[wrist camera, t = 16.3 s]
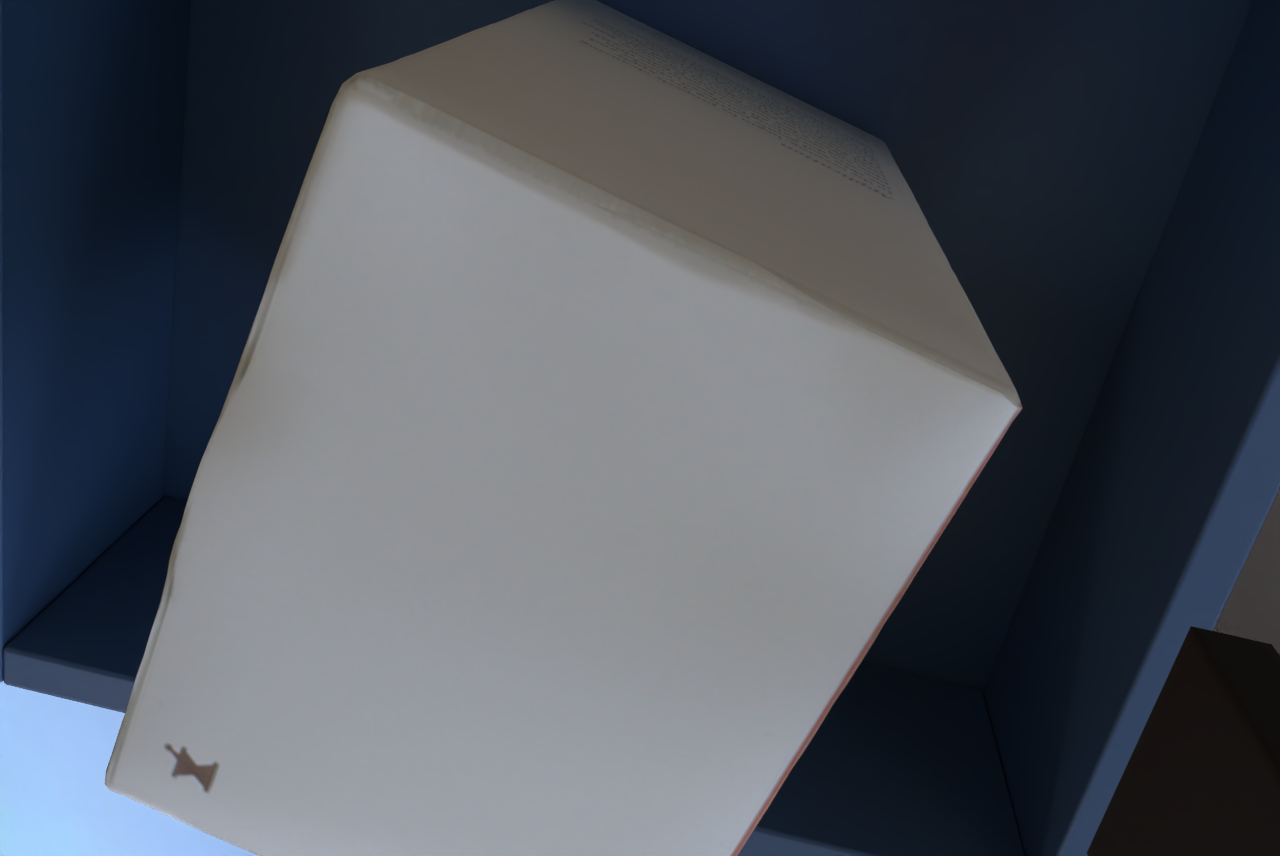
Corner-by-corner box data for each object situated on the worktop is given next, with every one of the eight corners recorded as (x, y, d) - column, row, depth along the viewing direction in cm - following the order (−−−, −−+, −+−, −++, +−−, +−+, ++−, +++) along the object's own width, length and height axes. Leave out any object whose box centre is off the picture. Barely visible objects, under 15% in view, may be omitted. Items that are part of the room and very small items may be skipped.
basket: (147, 497, 28) (-44, 675, 21) (191, -349, 21) (-68, -466, 15) (1000, 700, 27) (1068, 942, 21) (1316, -94, 21) (1557, -99, 14)
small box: (704, 500, 25) (637, 1033, 13) (417, 369, 25) (77, 799, 13) (899, 135, 22) (1045, 402, 10) (575, -23, 21) (318, 58, 9)
